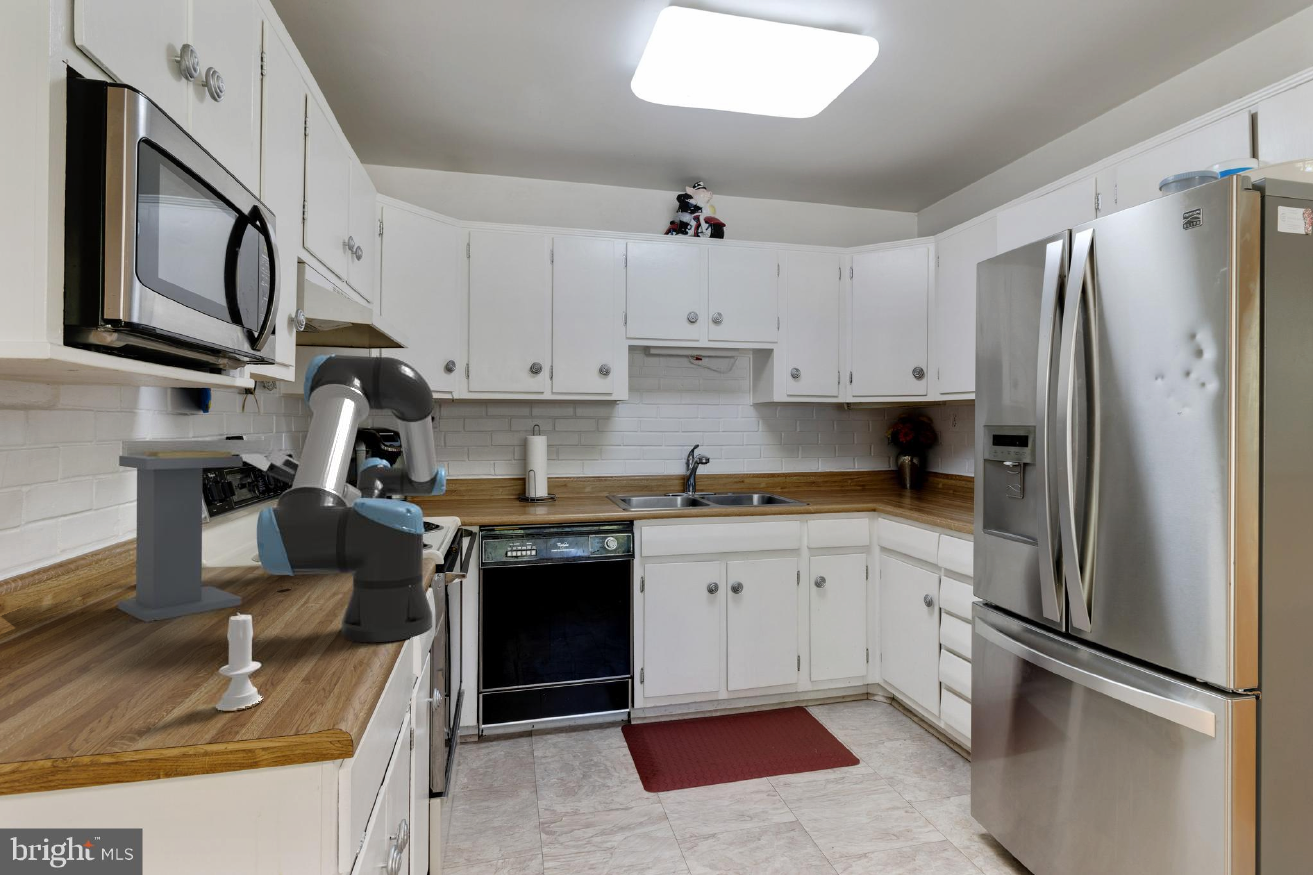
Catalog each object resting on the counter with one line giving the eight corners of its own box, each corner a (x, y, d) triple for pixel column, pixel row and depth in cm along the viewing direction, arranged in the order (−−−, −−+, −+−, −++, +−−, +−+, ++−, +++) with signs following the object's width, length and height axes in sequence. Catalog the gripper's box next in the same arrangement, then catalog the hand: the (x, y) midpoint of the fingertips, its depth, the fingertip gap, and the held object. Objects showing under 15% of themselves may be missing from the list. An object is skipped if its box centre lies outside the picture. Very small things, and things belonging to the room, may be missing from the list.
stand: (210, 593, 144) (211, 454, 144) (241, 604, 135) (242, 456, 135) (118, 608, 131) (119, 455, 131) (145, 622, 122) (146, 458, 122)
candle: (208, 714, 84) (209, 619, 84) (225, 697, 89) (225, 608, 89) (255, 710, 85) (256, 617, 85) (269, 694, 91) (270, 606, 90)
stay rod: (264, 453, 151) (264, 440, 151) (270, 453, 149) (270, 440, 149) (121, 455, 130) (121, 440, 130) (127, 456, 128) (127, 440, 128)
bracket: (216, 455, 137) (216, 450, 137) (231, 456, 133) (231, 451, 133) (146, 456, 128) (146, 451, 128) (159, 458, 123) (159, 452, 123)
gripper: (355, 513, 154) (272, 470, 139) (302, 505, 169) (222, 465, 154) (371, 484, 157) (291, 439, 142) (318, 479, 172) (240, 437, 157)
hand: (255, 453), depth 148 cm, fingers open, 13 cm apart
